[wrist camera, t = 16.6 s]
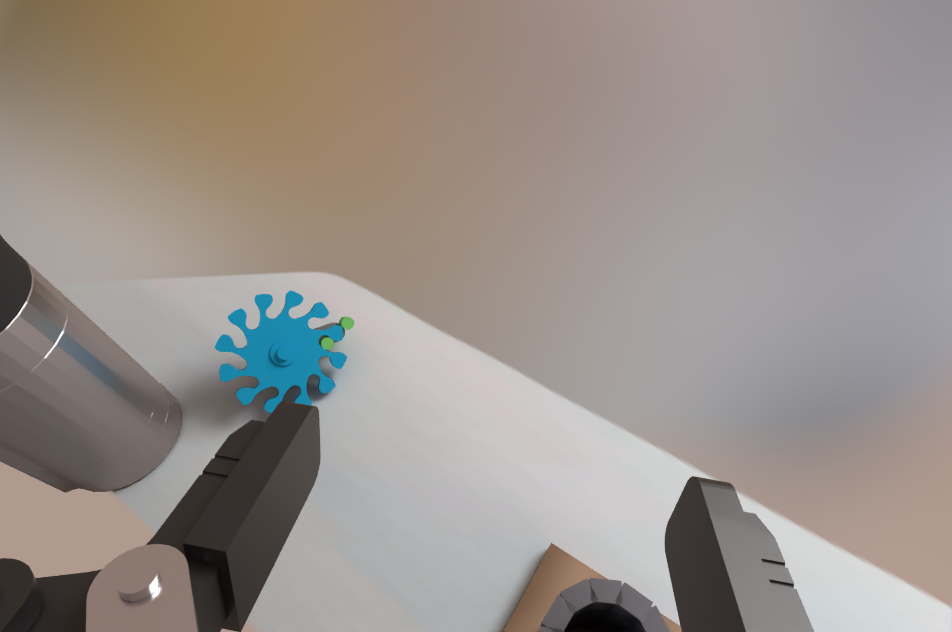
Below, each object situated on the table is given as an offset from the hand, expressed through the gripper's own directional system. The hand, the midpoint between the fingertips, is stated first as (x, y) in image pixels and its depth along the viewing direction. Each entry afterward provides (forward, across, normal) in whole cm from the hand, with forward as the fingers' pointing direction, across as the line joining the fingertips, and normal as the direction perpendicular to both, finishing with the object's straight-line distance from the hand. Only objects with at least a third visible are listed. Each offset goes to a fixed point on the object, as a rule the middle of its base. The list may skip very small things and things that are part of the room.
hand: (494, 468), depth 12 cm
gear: (+28, +16, +21) cm, 39 cm away
